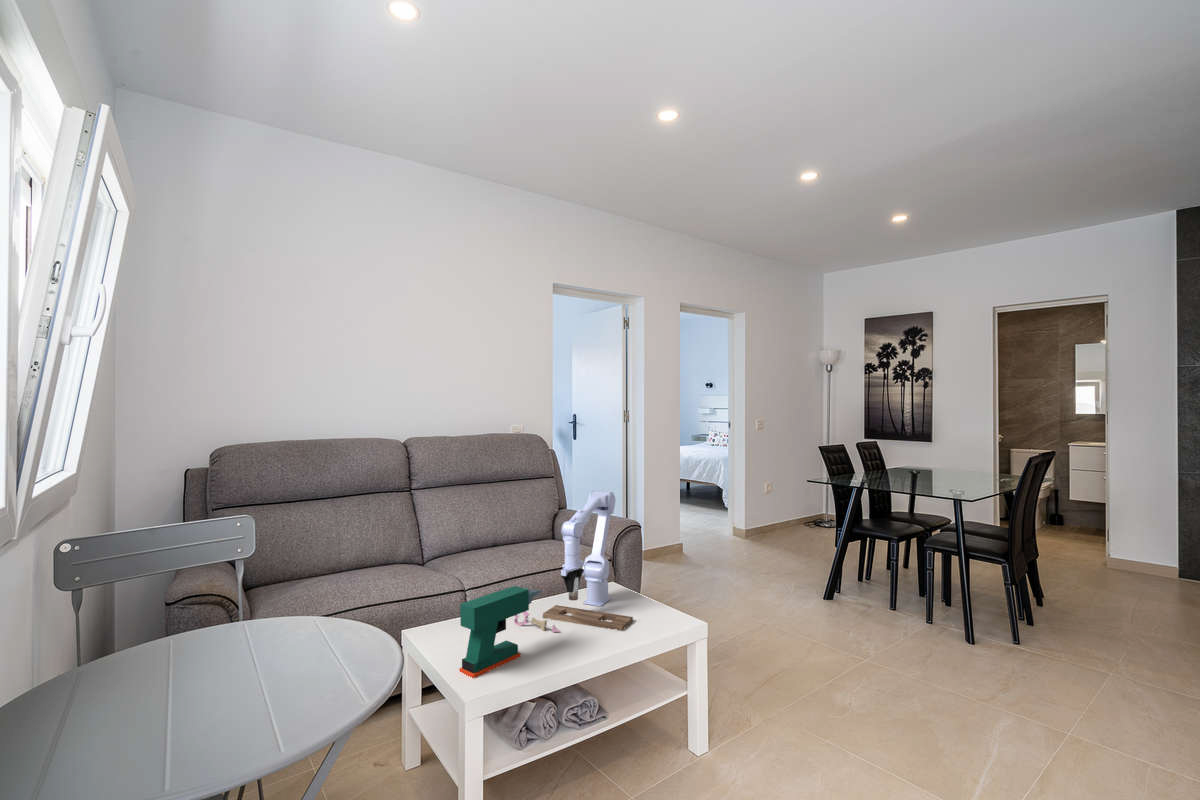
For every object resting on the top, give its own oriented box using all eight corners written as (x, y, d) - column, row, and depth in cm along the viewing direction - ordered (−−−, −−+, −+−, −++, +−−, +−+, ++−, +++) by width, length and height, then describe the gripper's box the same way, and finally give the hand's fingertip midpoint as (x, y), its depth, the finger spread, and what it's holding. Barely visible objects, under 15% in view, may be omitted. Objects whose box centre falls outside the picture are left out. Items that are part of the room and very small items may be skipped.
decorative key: (557, 642, 197) (511, 623, 206) (559, 641, 198) (513, 622, 207) (560, 623, 196) (514, 605, 206) (562, 622, 197) (516, 604, 207)
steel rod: (571, 596, 215) (572, 575, 215) (580, 598, 213) (580, 576, 213) (566, 599, 212) (567, 577, 212) (574, 601, 210) (575, 579, 210)
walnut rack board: (556, 608, 221) (555, 605, 221) (632, 621, 208) (632, 616, 208) (542, 617, 212) (542, 613, 212) (622, 630, 199) (622, 626, 199)
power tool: (535, 637, 194) (535, 578, 194) (550, 642, 190) (549, 582, 190) (458, 671, 169) (457, 603, 170) (473, 678, 165) (472, 608, 165)
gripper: (571, 548, 221) (572, 583, 221) (553, 557, 208) (553, 594, 208) (588, 550, 218) (588, 585, 218) (570, 559, 205) (571, 597, 205)
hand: (572, 590), depth 213 cm, fingers closed on steel rod, 4 cm apart
